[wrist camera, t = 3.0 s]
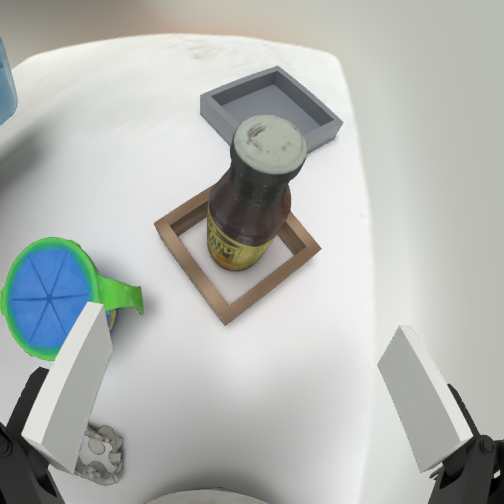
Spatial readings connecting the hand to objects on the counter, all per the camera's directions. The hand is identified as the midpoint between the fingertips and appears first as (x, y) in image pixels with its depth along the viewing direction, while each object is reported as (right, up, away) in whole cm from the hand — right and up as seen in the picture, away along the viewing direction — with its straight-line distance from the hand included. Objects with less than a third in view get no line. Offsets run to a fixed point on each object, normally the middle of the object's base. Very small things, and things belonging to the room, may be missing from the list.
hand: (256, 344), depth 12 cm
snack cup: (-19, -3, +17) cm, 25 cm away
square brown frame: (-2, +4, +21) cm, 22 cm away
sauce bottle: (-2, +4, +22) cm, 22 cm away
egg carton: (-20, -19, +12) cm, 30 cm away
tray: (+2, +22, +27) cm, 35 cm away
